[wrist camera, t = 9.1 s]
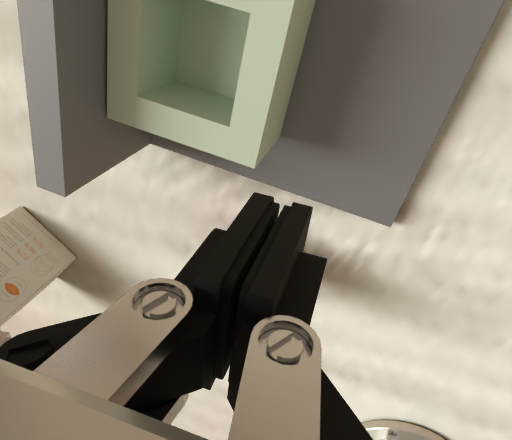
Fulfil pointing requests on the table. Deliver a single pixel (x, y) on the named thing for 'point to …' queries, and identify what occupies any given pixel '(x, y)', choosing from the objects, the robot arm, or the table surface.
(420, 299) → the table surface
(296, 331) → the robot arm
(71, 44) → the board
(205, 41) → the sage block
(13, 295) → the small box
